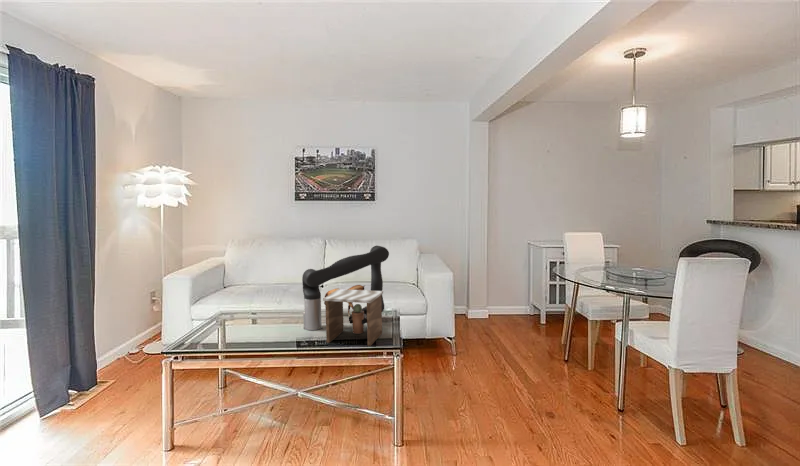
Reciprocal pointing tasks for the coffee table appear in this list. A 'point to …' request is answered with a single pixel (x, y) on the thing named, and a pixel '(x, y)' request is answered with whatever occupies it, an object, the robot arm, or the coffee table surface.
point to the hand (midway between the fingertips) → (356, 322)
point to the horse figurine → (356, 287)
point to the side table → (361, 296)
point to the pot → (357, 319)
